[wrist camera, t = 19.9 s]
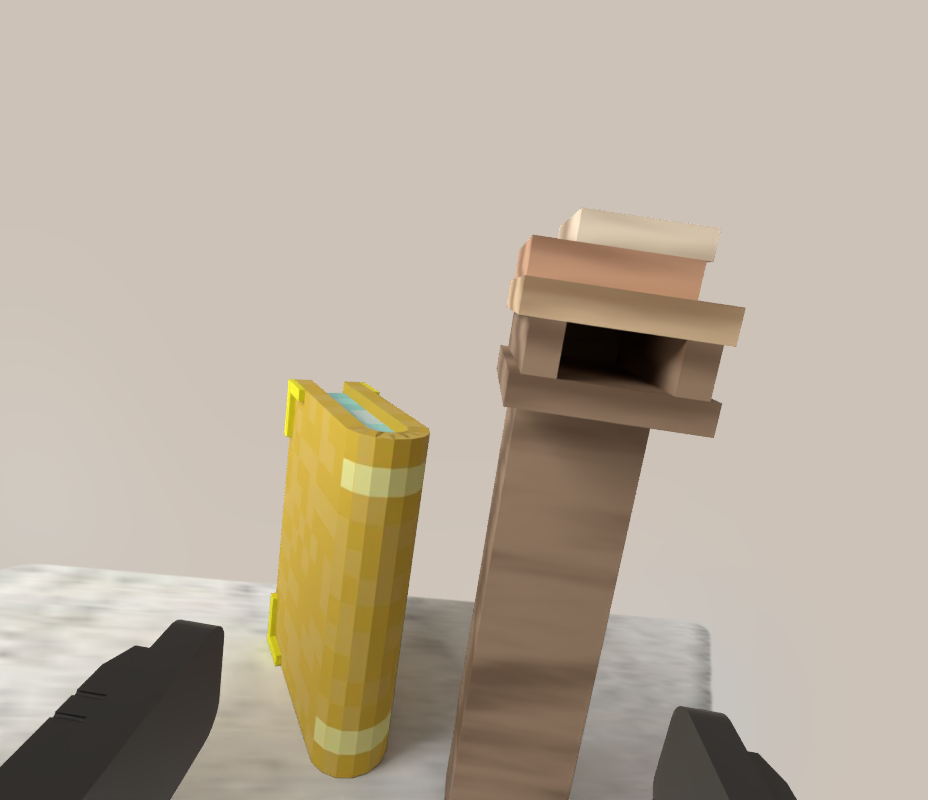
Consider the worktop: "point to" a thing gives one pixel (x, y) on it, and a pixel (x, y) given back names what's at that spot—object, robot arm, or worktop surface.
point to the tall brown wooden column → (576, 478)
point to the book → (345, 567)
